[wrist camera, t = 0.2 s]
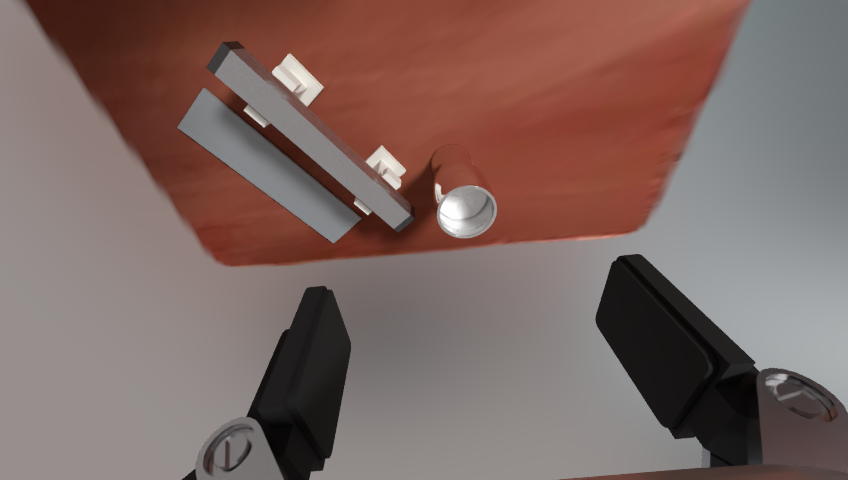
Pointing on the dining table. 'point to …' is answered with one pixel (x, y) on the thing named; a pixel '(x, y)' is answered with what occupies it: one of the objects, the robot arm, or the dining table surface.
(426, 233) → the dining table surface
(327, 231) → the mat
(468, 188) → the silver metal cup
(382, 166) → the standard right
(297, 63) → the standard left
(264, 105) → the steel rail
